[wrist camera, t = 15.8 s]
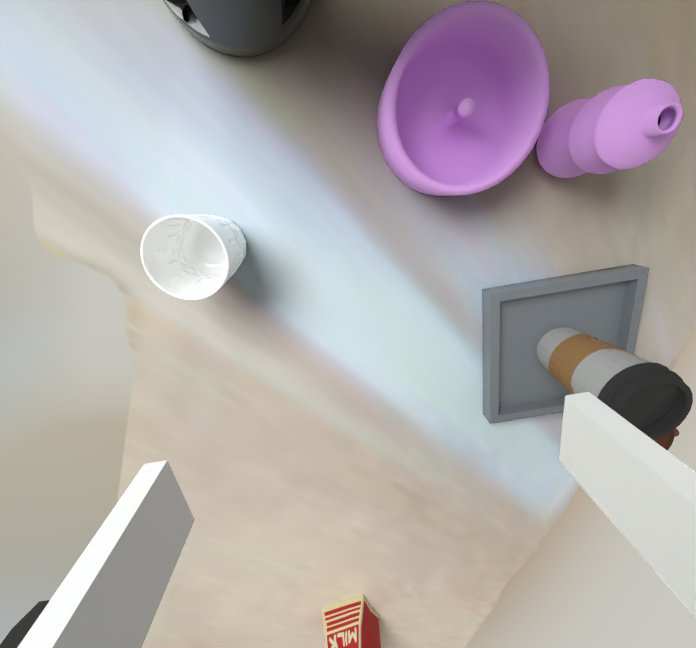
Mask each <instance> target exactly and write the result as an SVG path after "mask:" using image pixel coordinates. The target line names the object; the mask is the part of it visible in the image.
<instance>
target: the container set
mask: <svg viewBox="0 0 696 648" xmlns="http://www.w3.org/2000/svg"><path fill="white" fill-rule="evenodd" d="M549 97H550V75H549V70H548V64H547V59H546V56H545V53H544V50H543V48H542V45H541V43H540V40H539V39H538V37H537V36H536V34H535V33H534V31H533V30H532V28H531V27H530V25H529V24H528V23H527V22H526V21H524V20H523V19H522V18H521V17H520V16H519V15H518V14H517V13H515V12H514V11H512V10H510V9H508V8H506V7H505V6H503V5H499V4H496V3H492V2H488V1H467V2H463V3H459V4H456V5H452V6H449V7H448V8H446V9H444V10H442V11H440V12H438V13H436V14H434V15H433V16H432V17H431V18H429V19H428V20H427V21H426V22H425V23H423V24H422V25H421V26H420V27H419V28H418V29H417V30H416V31H415V33H414V34H413V35H412V36H411V38H410V39H409V40H408V41H407V43H406V44H405V46H404V48H403V50H402V51H401V53H400V55H399V57H398V59H397V60H396V62H395V64H394V66H393V68H392V70H391V72H390V74H389V76H388V79H387V81H386V83H385V85H384V88H383V91H382V94H381V96H380V100H379V106H378V112H377V134H378V140H379V146H380V149H381V151H382V154H383V157H384V159H385V161H386V163H387V164H388V166H389V168H390V169H391V171H392V172H393V173H394V174H395V176H396V177H397V178H398V179H399V180H400V181H401V182H403V183H404V184H405V185H407V186H408V187H410V188H411V189H413V190H416V191H418V192H420V193H423V194H428V195H434V196H447V195H470V194H474V193H478V192H482V191H484V190H486V189H489V188H491V187H493V186H495V185H497V184H498V183H500V182H501V181H503V180H504V179H505V178H507V177H508V176H510V175H511V174H512V173H513V172H514V171H515V170H516V169H517V168H518V167H519V166H520V165H521V164H522V163H523V161H524V160H525V159H526V157H527V156H528V154H529V153H530V152H531V150H532V149H533V147H534V145H535V143H536V141H537V157H538V160H539V163H540V165H541V166H542V168H543V169H544V170H545V171H546V172H547V173H549V174H551V175H553V176H555V177H559V178H573V177H577V176H580V175H583V174H585V173H587V172H589V173H594V174H607V173H611V172H615V171H618V170H621V169H632V168H636V167H639V166H641V165H643V164H645V163H647V162H649V161H650V160H652V159H653V158H655V157H656V156H658V155H659V154H660V153H661V152H662V151H663V150H664V149H665V148H666V147H667V146H668V144H669V143H670V142H671V140H672V138H673V137H674V135H675V133H676V130H677V128H678V126H679V125H680V123H681V121H682V118H683V108H682V106H681V102H680V98H679V95H678V93H677V91H676V90H675V88H674V87H673V86H672V85H671V84H669V83H667V82H665V81H662V80H657V79H641V80H637V81H635V82H633V83H630V84H628V85H619V86H615V87H611V88H608V89H606V90H604V91H602V92H600V93H599V94H597V95H596V96H595V97H593V98H587V99H578V100H574V101H572V102H569V103H567V104H565V105H563V106H561V107H560V108H559V109H557V110H556V111H555V112H554V113H553V114H552V115H551V116H550V117H549V118H548V119H547V121H546V122H545V123H544V121H545V118H546V115H547V110H548V104H549ZM543 124H544V125H543ZM537 139H538V140H537Z"/></svg>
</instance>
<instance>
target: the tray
mask: <svg viewBox="0 0 696 648" xmlns="http://www.w3.org/2000/svg"><path fill="white" fill-rule="evenodd" d="M648 272H649V268H647V267H643V266H638V265H634V264H632V265H626V266H620V267H613V268H607V269H601V270H595V271H589V272H583V273H577V274H571V275H565V276H559V277H553V278H547V279H541V280H535V281H529V282H522V283H516V284H510V285H504V286H498V287H492V288H486V289H482V316H483V414H484V416H485V417H486V418H487V420H488V421H489V423H490V424H491V423H497V422H504V421H510V420H516V419H522V418H528V417H534V416H541V415H547V414H553V413H559V412H564V403H565V396H566V395H572V394H571V393H570V392H569V391H568V390H567V389H566V388H565V387H564V386H563V385H562V384H561V383H560V382H559V381H557V380H556V379H555V378H554V377H553V376H552V375H551V374H550V372H549V371H548V370H547V369H546V368H545V367H544V366H543V365H541V364H540V362H539V360H538V357H537V352H536V351H537V345H538V343H539V341H540V340H541V338H542V337H543V336H544V335H545V334H546V333H548V332H549V331H551V330H553V329H556V328H564V327H567V328H572V329H575V330H577V331H579V332H581V333H585V334H588V335H590V336H592V337H595V338H597V339H600V340H602V341H604V342H607V343H609V344H611V345H614V346H616V347H618V348H621V349H623V350H625V351H628V352H630V353H632V354H634V350H635V345H636V339H637V334H638V328H639V322H640V317H641V311H642V306H643V300H644V295H645V289H646V284H647V278H648Z"/></svg>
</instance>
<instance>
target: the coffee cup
mask: <svg viewBox="0 0 696 648" xmlns="http://www.w3.org/2000/svg"><path fill="white" fill-rule="evenodd" d="M536 352H537V357H538V360H539V362H540V364H541V365H543V366H544V367H545V368H546V369H547V370H548V371H549V372H550V374H551V375H552V376H553V377H554V378H555V379H556V380H557V381H559V382H560V383H561V384H562V385H563V386H564V387H565V388H566V389H567V390H568V391H569V392H570V393H571V394H578V393H584V392H590V393H591V394H592V395H594V396H595V397H596V398H598V399H599V400H600V401H602V402H603V403H604V404H606V405H607V406H608V407H610V408H611V409H612V410H614V411H615V412H616V413H618V414H619V415H620V416H622V417H623V418H624V419H626V420H627V421H628V422H630V423H631V424H632V425H634V426H635V427H636V428H638V429H639V430H640V431H642V432H643V433H644V434H646V435H647V436H648V437H650V438H651V439H652V440H653V439H656V438H659V437H662V436H664V435H666V434H668V433H669V432H671V431H672V430H674V429H675V428H676V427H677V426H679V425H680V424H681V423H682V421H683V420H684V419H685V418H686V416H687V415H688V413H689V411H690V409H691V406H692V392H691V390H690V388H689V387H688V386H687V385H686V384H685V383H684V382H683V380H682V379H681V378H680V377H679V376H678V375H677V374H676V373H675V372H673V371H670V370H669V369H668V368H667V367H665V366H663V365H661V364H658V363H651V362H649V361H646V360H644V359H642V358H639V357H637V356H636V355H635V354H632V353H630V352H628V351H625V350H623V349H621V348H618V347H616V346H614V345H611V344H609V343H607V342H604V341H602V340H600V339H597V338H595V337H592V336H590V335H588V334H585V333H581V332H579V331H577V330H575V329H572V328H567V327H564V328H556V329H553V330H551V331H549V332H548V333H546V334H545V335H544V336H543V337H542V338H541V340H540V341H539V343H538V345H537V351H536Z"/></svg>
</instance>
